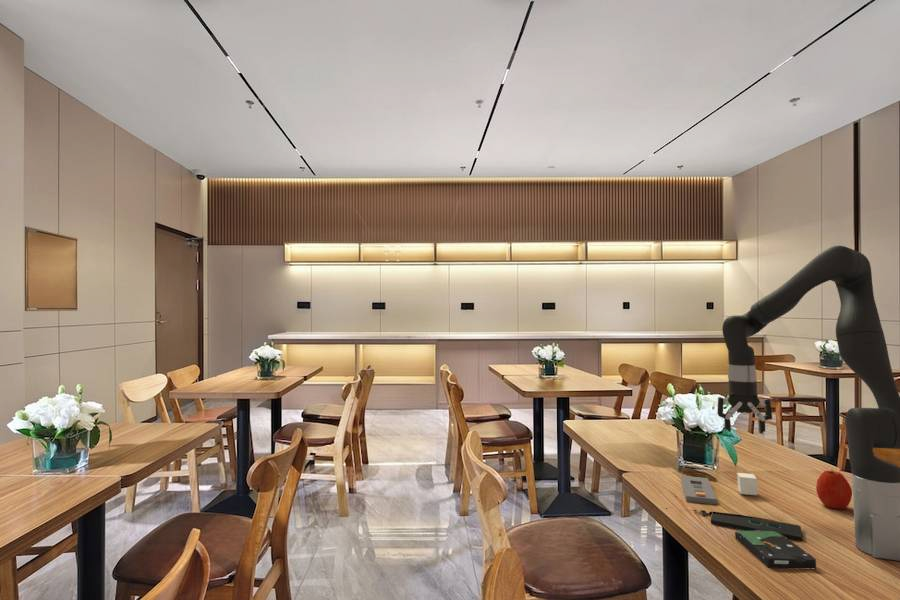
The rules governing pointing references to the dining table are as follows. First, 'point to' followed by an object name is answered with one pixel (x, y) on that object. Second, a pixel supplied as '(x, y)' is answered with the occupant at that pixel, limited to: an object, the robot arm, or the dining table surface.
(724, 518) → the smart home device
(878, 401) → the robot arm
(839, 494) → the apple
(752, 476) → the charger
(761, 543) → the disk drive
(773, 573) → the dining table surface
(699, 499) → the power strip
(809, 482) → the dining table surface
